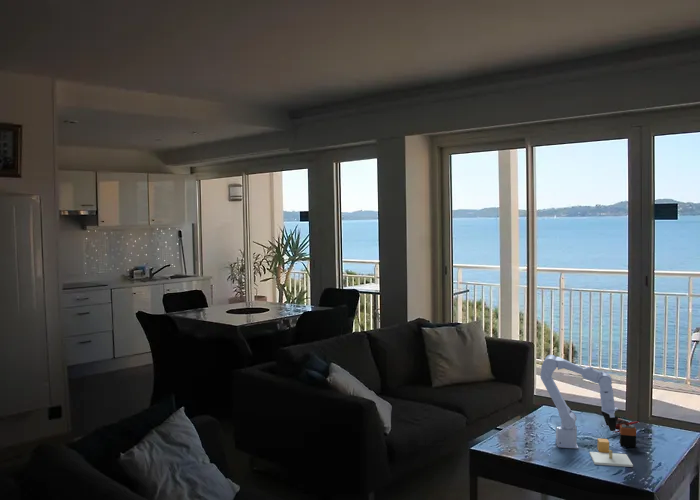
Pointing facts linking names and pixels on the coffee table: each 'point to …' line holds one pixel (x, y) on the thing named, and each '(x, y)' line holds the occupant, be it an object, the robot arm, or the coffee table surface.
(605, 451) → the tan cardboard-like box
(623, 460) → the plate
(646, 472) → the coffee table surface
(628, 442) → the battery
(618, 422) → the decorative bird figurine
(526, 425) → the coffee table surface
